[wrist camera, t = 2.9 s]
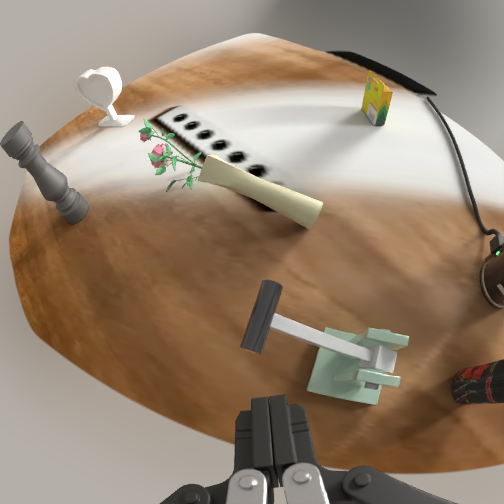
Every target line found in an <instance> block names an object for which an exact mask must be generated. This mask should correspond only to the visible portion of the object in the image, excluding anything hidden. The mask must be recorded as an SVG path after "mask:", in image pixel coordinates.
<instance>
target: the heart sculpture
mask: <svg viewBox="0 0 504 504" xmlns="http://www.w3.org/2000/svg"><path fill="white" fill-rule="evenodd" d="M74 86H75V88H76V90H77V92H78V93H79V95H80V96H81V97H82V98H83V99H84V100H85V101H86V102H88V103H90V104H91V105H93V106H95V107H97V108H99V109H101V110H103V111H106V113H107V115H108V116H106V117H105V118H103V119H102V120H101V121H100V122H99V124H98V126H116V127H124V126H126V125H127V124H129V123H130V122H131V121H132V120H133V118H134V115H117V114H116V112H115V110H114V108H113V106H112V104H113V102H114V101H115V100H116V99H117V98H118V96H119V94H120V93H121V89H122V82H121V78H120V76H119V74H118V72H117V71H116V70H115V69H114V68H111V67H100V68H99V69H98V70H97V71H95V70H92V69H90V70H88V71H86V72H85V73H83V74H82V75H81V76H80V77H79V78H77V79H76V80H75V82H74Z"/></svg>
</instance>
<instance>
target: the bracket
mask: <svg viewBox="0 0 504 504" xmlns="http://www.w3.org/2000/svg"><path fill="white" fill-rule="evenodd" d="M323 333H326V334H329V335H331V336H334V337H336V338H339V339H342V340H345V341H347V342H350V343H353V344H355V345H358V346H361V347H363V346H378V345H380V346H383V347H386V348H388V349H391V350H394V351H396V350H398V349H401V348H404V347H407V346H408V340H409V336H405V335H400V334H396V333H391V331H390V330H387V329H373V328H368V329H366V330H365V331H363V332H362V333H360V334H359V335H356V334H351V333H347V332H343V331H339V330H335V329H331V328H327V327H325V328H324V331H323ZM359 362H360V361H359V360H356V359H353V358H350V357H347V356H344V355H341V354H338V353H335V352H332V351H329V350H326V349H323V348H320V347H319V349H318V352H317V356H316V359H315V363H314V366H313V369H312V373H311V376H310V379H309V382H308V385H307V389H306V391H309V392H314V393H318V394H322V395H326V396H331V397H336V398H340V399H345V400H350V401H356V402H361V403H367V404H373V405H377V401H378V398H379V394H380V391H381V388H395V387H399V384H400V379H401V377H397V376H391V375H386V374H385V373H377V372H373V371H369V370H366V369H362V368H359V367H358V366H359Z"/></svg>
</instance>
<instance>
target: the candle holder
mask: <svg viewBox="0 0 504 504" xmlns="http://www.w3.org/2000/svg"><path fill="white" fill-rule="evenodd" d="M31 135H32V134H31V132H30V131H29V129H28V128H27V127H26V125H25V124H24V122H23V121H21V122H19V123H17V124H16V125H14V126H13V127H12V128H11V129H10V130H9V131H8V132H7V133H6V135H5V136H4V137H3V139H2V141H1V143H0V145H1V147H2V148H3V149H4V150H5V152H6V153H7V154H8V155H9V157H12V158H13V159H17V160H19V166H20V167H21V168H26V169H27V170H28V171H29V173H30V174H31V175H32V176H33V177H34V179H35V181H36V183H37V185H38V187H39V189H40V191H41V193H42V195H43V196H44V198H45V199H46V200H48V201H54V202H55V203H56V208H57V210H58V211H59V213H60V214H61V215H62V216H63V217H64V218H65V219H66V220H67V221H68V222H69V223H70V224H75V223H78V222H79V221H81V220H82V219H83V218H84V216H85V215H86V213H87V211H88V207H89V206H88V202H87V201H86V200H85V199H84V198H83V196H82V195H81V194H80V193H79V192H77V191H76V190H75V189H74V188H69V186H68V182H67V178H66V176H65V175H64V174H63V173H62V172H60V171H59V170H57V169H56V168H54V167H53V166H52V165H50V164H49V163H47V162H46V160H45V159H44V158H43V157H42V155H41V154H40V147H39V145H33V138H32V136H31Z"/></svg>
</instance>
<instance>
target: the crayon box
mask: <svg viewBox="0 0 504 504" xmlns="http://www.w3.org/2000/svg"><path fill="white" fill-rule="evenodd" d="M392 93H393V92H392V91H391V90H390V89H389V88H388V87H387V86H386V85H385V84H384V83H383V82H382V81H381V80H380V79H379V78H378V77H376V76H375V75H374V74H373V73H372V72H371V71H370V70H369V72H368V76H367V81H366V87H365V93H364V98H363V104H362V110H363V111H364V112H365V114H366V115H367V116H368V118H369V119H370V120H371V122H372V123H373V125H374V126H380V125H384V124H385V120H386V116H387V113H388V109H389V105H390V101H391V97H392Z"/></svg>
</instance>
